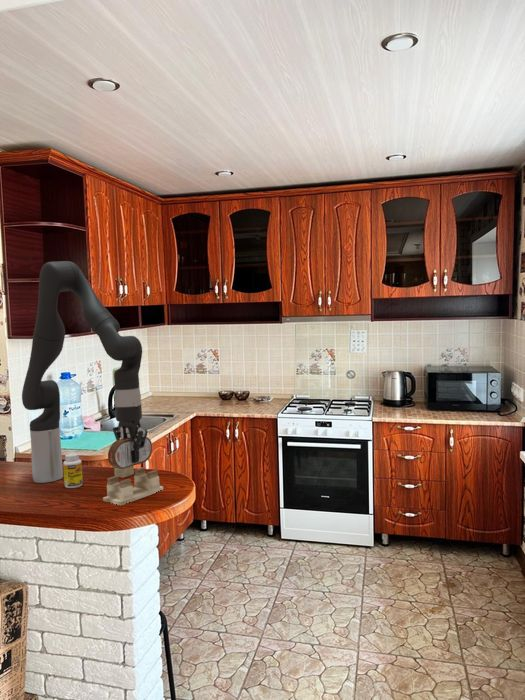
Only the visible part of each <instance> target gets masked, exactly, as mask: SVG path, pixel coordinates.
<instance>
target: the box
mask: <svg viewBox="0 0 525 700" xmlns="http://www.w3.org/2000/svg"><path fill="white" fill-rule="evenodd" d="M134 466H135V465H134ZM134 466H131V467H128V468H125V469H119V468H114V467H113V468H114V476H118V478H127V477H130V476H132V475H135V469H134Z"/></svg>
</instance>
